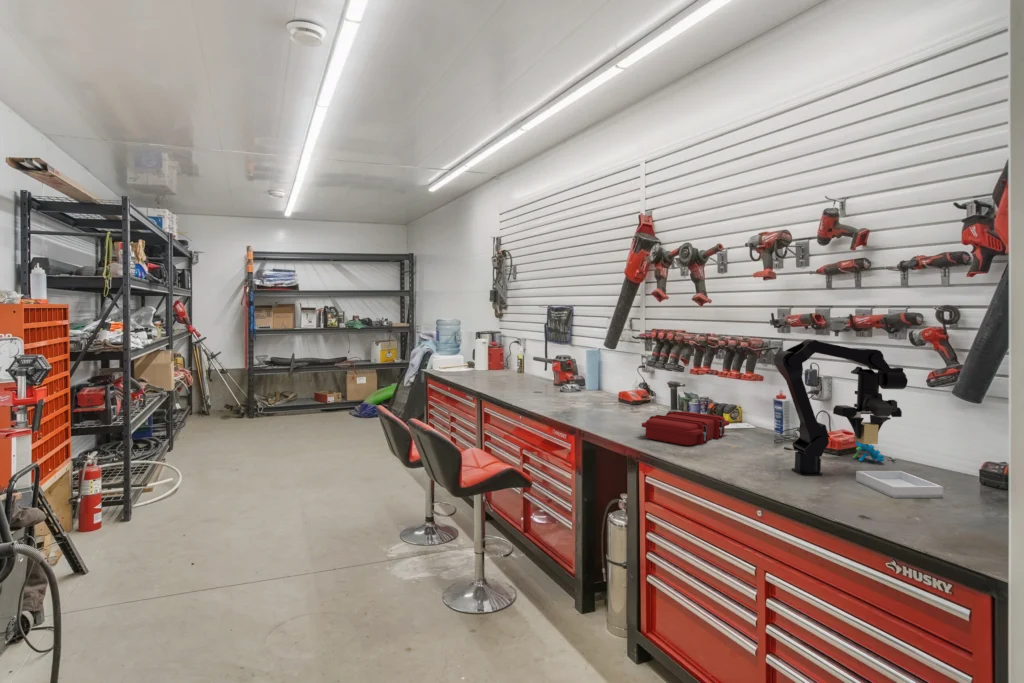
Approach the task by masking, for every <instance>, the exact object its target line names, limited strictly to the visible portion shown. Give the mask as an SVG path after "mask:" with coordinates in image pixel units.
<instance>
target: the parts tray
mask: <svg viewBox="0 0 1024 683" xmlns="http://www.w3.org/2000/svg"><path fill="white" fill-rule="evenodd" d="M855 482H857V483H859V484H862V485H863V486H867V487H868V488H871V489H873V490H874V491H877V492H879V493H882V494H883V495H886V496H888V497H891V498H893V499H926V498H927V499H935V498H936V499H939V498H940V499H942V498H944V486H942V485H939V484H936V483H934V482H932V481H929V480H926V479H924V478H921V477H918V476H915V475H913V474H910V473H908V472H905V471H903V470H856V472H855Z"/></svg>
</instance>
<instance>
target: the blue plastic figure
mask: <svg viewBox="0 0 1024 683" xmlns="http://www.w3.org/2000/svg"><path fill="white" fill-rule="evenodd" d="M855 446H856V448H855V450H856V451H855V452H856V453H855V454H854V455H853V456H852V459H856V458H857V457H858V456H859V455H861V456H860V458H859V459H858V462H860V463H861V462H863V461H864V460H865V459H866V458H867V457H870V458H871V459H872V460H873V461H877V462H879V463H880V462H882V463H883V462H884V461H885V456H884V455H883V454H880V453H881V451H879V449H875V446H874V445H873V444H862V443H859V442H856V441H855Z"/></svg>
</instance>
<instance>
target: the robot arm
mask: <svg viewBox="0 0 1024 683" xmlns="http://www.w3.org/2000/svg"><path fill="white" fill-rule="evenodd" d="M814 354H818V355H819V354H820V355H824V356H830V357H834V358H837V359H838V358H839V359H844V360H846V361H849V362H850V363H853V364H856V365H857V366H856V367H855V368H854V369H853V370H851V371H850V374H853V375H856V376H857V390H854V395H856V403H853V406H850V405H845V404H844V405H839V404H838V405H835V406H834V407H833V408H832V409H833V411H832V414H833V415H836V416H840V417H843V418H847V420H848V422H849V424H850V425H851V428H852V430H853V432H854V436H855V435H856V437H857V438H858V439H860V437H861V422H864V420H865V418H864V417H862V415H869V422H871V423H874V424H878V425H879V426H878V433H879V432H880V430H881V428H882V426H883V424H884V423H885V422H887V421H888V420H889V421H890V420H891V418H902V417H903V416H902V415H903V411H902V409H901V408H900V407H898V401H897V400H895V399H888V400H884V399H883V395H882V393H881V392H880V388H881V389H882V390H904V389H905V388H906V387H907V385H908V382H909V380H908V378H907V374H906V373H905V372H904V368H903V367H899V366H897V367H890V365H889V364H888V363H887V361H886V360H885V358H884V354H883V351H881V350H879V349H874V348H865V347H863V348H862V347H847V346H843V345H839V344H833V343H829V342H822V341H819V340H816V339H810V338H809V339H804V340H803V341H801V342H800V343H798V344H796V345H793V346H791V347H789V348H788V349H785V350H782V351H781V350H780V351H779V352H777V353H776V354H775V356H774V358H773V362H774V366H775V367H776V369H777V370H778V372H779V374H780V375H781V376H782V377H783V378H784V380H785V381H786V384H787V386H788V391H789V394H790V396H791V398H792V402H793V405H794V409H795V410H796V414H797V417H798V420H799V429H798V430H799V431H798V432H799V437H798V438H797V439H796V440H795V441H793V442H792V443H791V445H792V448H793V450H794V452H795V453H794V467H792V468H791V470H792V471H794V472H795V473H797V474H800V475H802V476H823V473H822V472H821V470H822V468H821V467H822V458H821V457H822V456H823V454H824V451H825V449H826V448H827V447H828V446H829V444H830V441H829V439H830V438H831V436H830V435H829V433H828V429H827V426H826V424H823V423H821V422H818V421H817V419H816V416H815V413H814V409H813V407H812V404H811V400H810V397H809V395H808V392H807V389H806V386H805V383H804V380H803V373H804V372H803V371H804V366H803V364H804V363H805V362H807V361H808V360H809V359H810V358H811V357H812V356H813V355H814ZM863 367H865V368H863ZM875 371H876V372H875ZM890 416H891V417H890Z"/></svg>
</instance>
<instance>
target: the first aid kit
mask: <svg viewBox="0 0 1024 683" xmlns="http://www.w3.org/2000/svg"><path fill="white" fill-rule="evenodd" d="M729 425H730V421H729V420H726V419H725V417H724V416H720V415H715V414H713V415H712V414H706V413H705V414H704V413H699V412H691V411H677V410H672V411H667V413H666V415H661V414H656V415H652V416H650V417H649V418H648V419H647V420H645V422H644V421H643V422H641V428H644V429H645V437H646V438H647V439H649V440H653V441H660V442H664V443H665V442H666V443H670V444H675V445H682V446H693V445H698V446H701V445H703V444H707V443H708V440H716V441H717V440H719V439H722V438H723V437H724V435H725V429H726V428H725V427H727V426H729Z"/></svg>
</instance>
